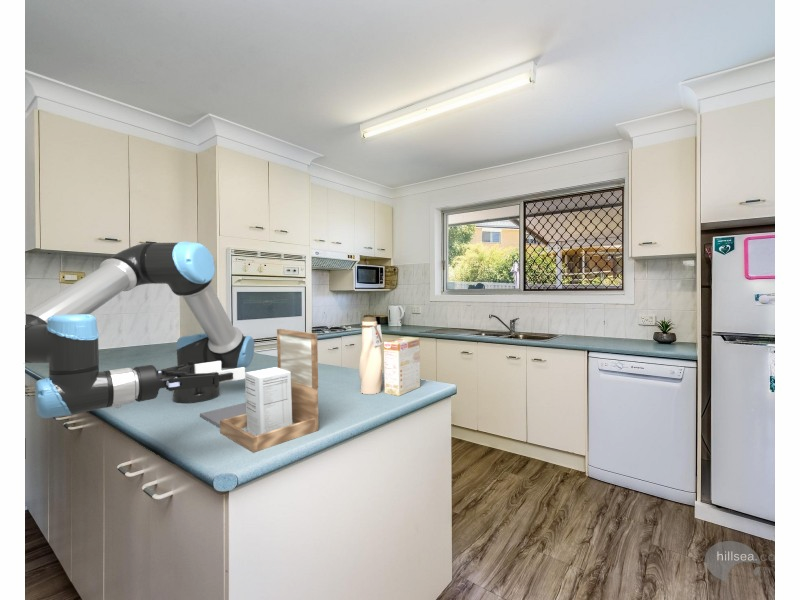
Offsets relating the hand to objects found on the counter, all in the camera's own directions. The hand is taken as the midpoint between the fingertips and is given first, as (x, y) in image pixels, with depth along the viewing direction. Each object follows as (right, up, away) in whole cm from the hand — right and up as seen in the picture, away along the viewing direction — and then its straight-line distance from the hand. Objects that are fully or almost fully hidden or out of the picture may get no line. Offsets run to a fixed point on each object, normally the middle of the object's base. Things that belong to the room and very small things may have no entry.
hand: (232, 369), depth 99 cm
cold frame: (+7, -19, +8) cm, 22 cm away
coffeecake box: (+44, -17, +49) cm, 68 cm away
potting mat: (-8, -18, +22) cm, 30 cm away
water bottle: (+32, -17, +47) cm, 60 cm away
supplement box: (+7, -19, +8) cm, 22 cm away
